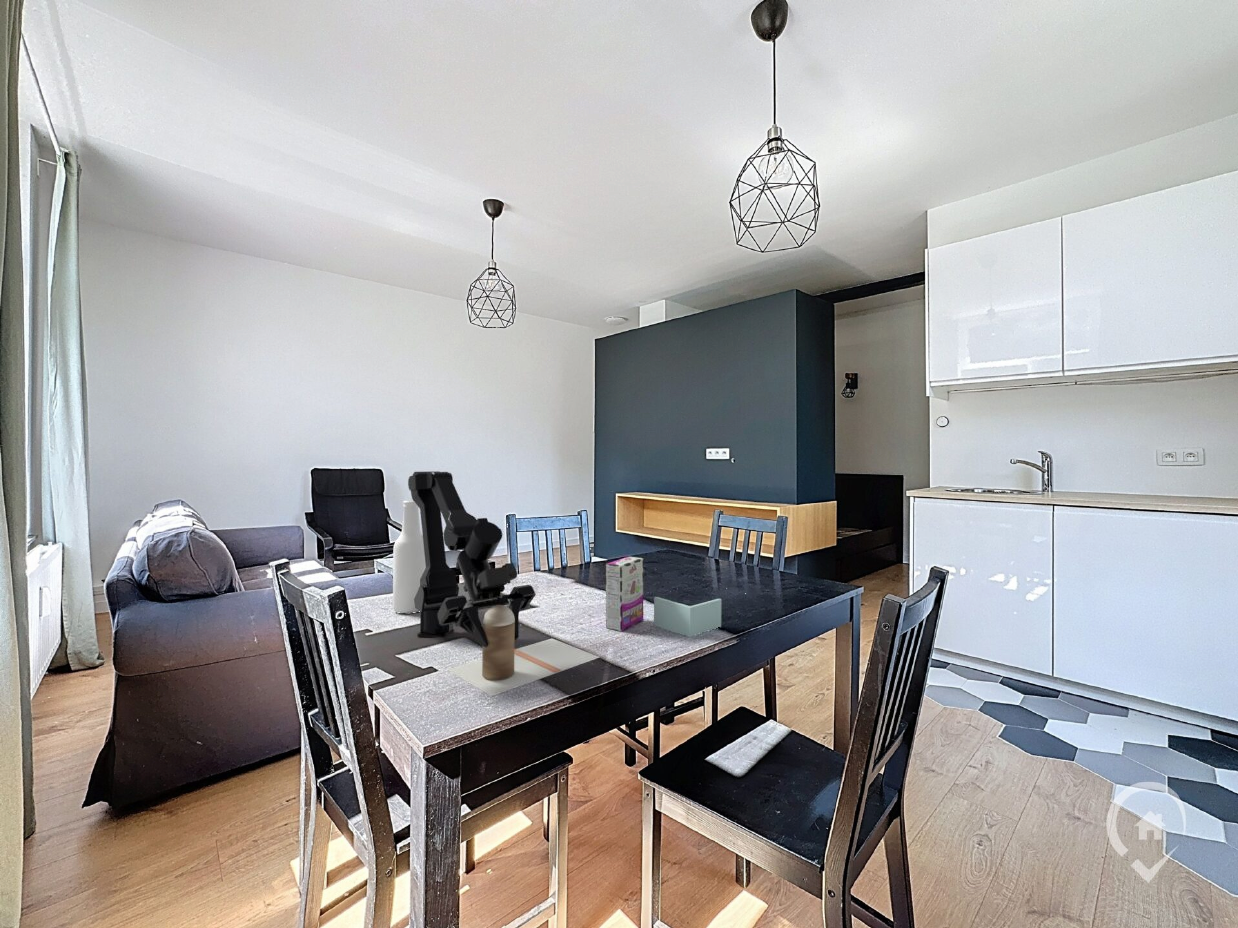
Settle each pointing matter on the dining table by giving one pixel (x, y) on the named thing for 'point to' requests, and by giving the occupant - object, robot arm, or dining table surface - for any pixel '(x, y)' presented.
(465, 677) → the mat
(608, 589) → the candy bar box
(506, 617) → the walnut pin
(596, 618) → the dining table surface
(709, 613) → the right angle wall
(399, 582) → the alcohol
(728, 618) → the dining table surface
